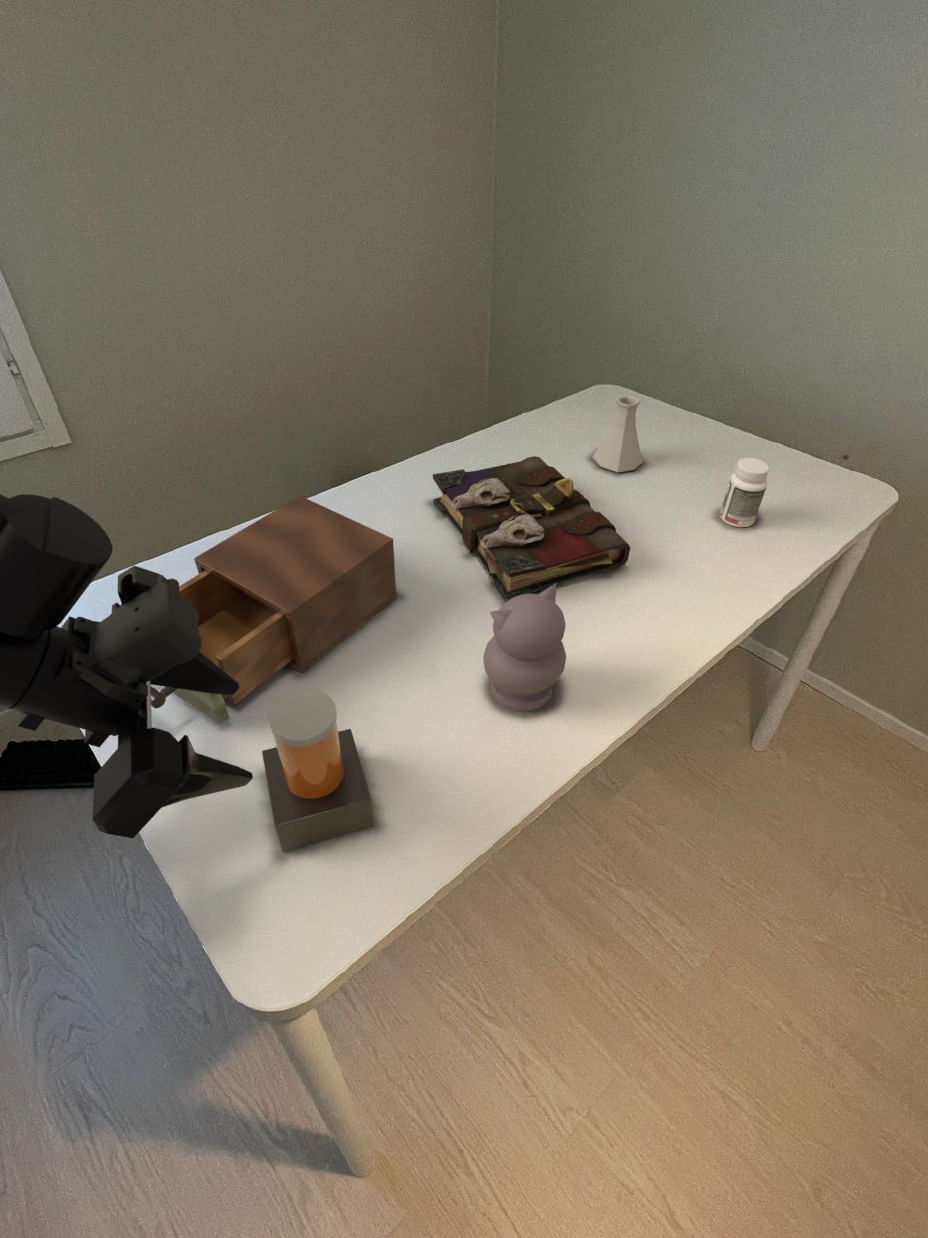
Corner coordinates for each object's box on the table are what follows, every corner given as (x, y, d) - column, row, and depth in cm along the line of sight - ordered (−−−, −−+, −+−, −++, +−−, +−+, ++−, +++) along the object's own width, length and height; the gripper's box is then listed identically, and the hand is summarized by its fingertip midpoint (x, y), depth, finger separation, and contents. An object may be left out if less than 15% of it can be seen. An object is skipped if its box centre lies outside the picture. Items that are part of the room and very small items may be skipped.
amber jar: (293, 809, 58) (278, 749, 53) (277, 762, 61) (260, 701, 56) (353, 786, 60) (344, 726, 54) (334, 742, 63) (324, 681, 58)
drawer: (186, 752, 66) (167, 704, 61) (101, 688, 71) (78, 639, 67) (325, 642, 77) (318, 594, 72) (242, 594, 83) (230, 547, 78)
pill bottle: (761, 524, 97) (780, 471, 91) (732, 530, 96) (750, 476, 90) (740, 506, 100) (757, 453, 95) (712, 512, 99) (728, 459, 93)
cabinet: (302, 673, 75) (290, 612, 69) (211, 617, 81) (193, 558, 75) (396, 597, 84) (393, 538, 78) (309, 552, 90) (300, 495, 85)
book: (631, 573, 88) (642, 524, 83) (502, 607, 83) (505, 558, 78) (536, 471, 106) (541, 426, 102) (425, 494, 101) (424, 448, 96)
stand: (282, 852, 59) (274, 826, 57) (269, 777, 65) (261, 750, 62) (374, 825, 61) (371, 799, 59) (354, 754, 67) (350, 728, 64)
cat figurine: (510, 731, 69) (519, 644, 61) (466, 682, 74) (469, 595, 66) (577, 696, 73) (593, 609, 65) (530, 651, 78) (540, 565, 70)
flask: (616, 445, 113) (627, 385, 106) (650, 464, 109) (664, 403, 102) (583, 458, 110) (593, 397, 103) (617, 478, 105) (629, 415, 99)
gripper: (87, 687, 35) (331, 762, 45) (99, 494, 48) (287, 587, 58) (-19, 818, 38) (231, 861, 49) (20, 605, 51) (210, 674, 62)
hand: (242, 732), depth 54 cm, fingers open, 9 cm apart
